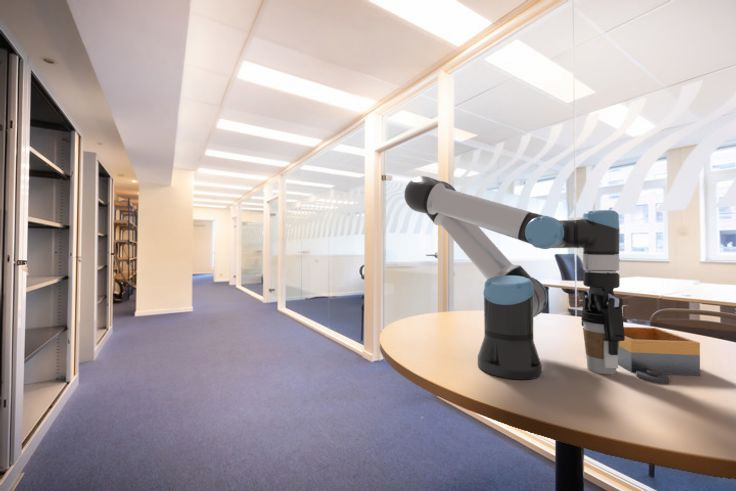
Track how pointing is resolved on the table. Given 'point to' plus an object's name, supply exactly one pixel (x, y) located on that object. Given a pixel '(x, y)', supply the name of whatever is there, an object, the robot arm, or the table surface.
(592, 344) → the coffee cup
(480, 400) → the table surface
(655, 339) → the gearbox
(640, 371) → the disc
